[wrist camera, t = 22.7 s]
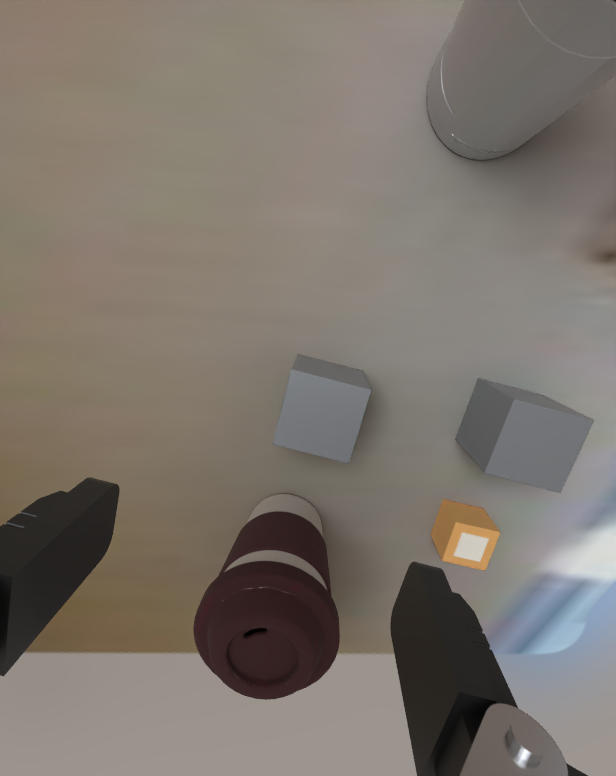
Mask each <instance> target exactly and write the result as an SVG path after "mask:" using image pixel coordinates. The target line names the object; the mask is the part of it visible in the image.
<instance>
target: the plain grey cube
mask: <svg viewBox="0 0 616 776" xmlns="http://www.w3.org/2000/svg"><path fill="white" fill-rule="evenodd" d="M370 393H371V388H370V386H369V384H368V381H367V379H366V377H365V375H364V372H363V371H361V370H357V369H353V368H349V367H346V366H342V365H338V364H334V363H330V362H326V361H322V360H319V359H315V358H311V357H307V356H303V355H299V354H298V355H297V358H296V360H295V362H294V364H293V367H292V369H291V372H290V376H289V380H288V384H287V388H286V392H285V397H284V401H283V405H282V409H281V413H280V417H279V421H278V425H277V429H276V433H275V437H274V441H273V444H274V445H278V446H281V447H285V448H289V449H293V450H297V451H301V452H305V453H309V454H313V455H317V456H321V457H325V458H328V459H332V460H336V461H340V462H344V463H348V464H349V462H350V459H351V455H352V452H353V449H354V445H355V442H356V439H357V436H358V432H359V429H360V426H361V422H362V419H363V416H364V413H365V409H366V406H367V403H368V399H369V396H370Z"/></svg>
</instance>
